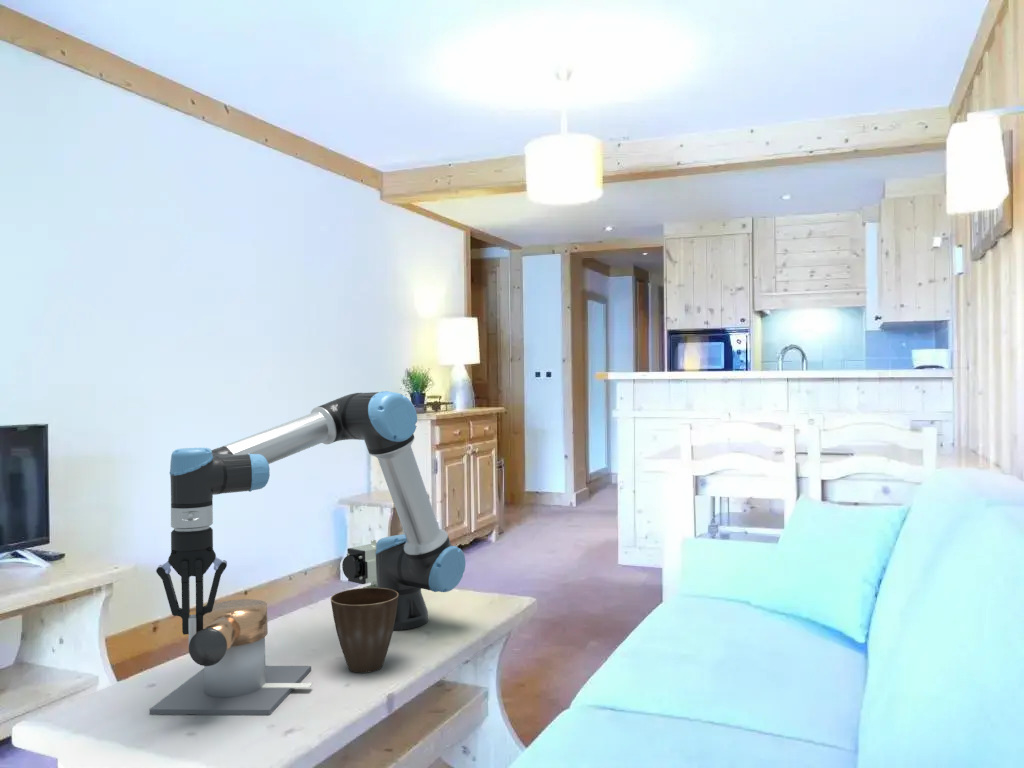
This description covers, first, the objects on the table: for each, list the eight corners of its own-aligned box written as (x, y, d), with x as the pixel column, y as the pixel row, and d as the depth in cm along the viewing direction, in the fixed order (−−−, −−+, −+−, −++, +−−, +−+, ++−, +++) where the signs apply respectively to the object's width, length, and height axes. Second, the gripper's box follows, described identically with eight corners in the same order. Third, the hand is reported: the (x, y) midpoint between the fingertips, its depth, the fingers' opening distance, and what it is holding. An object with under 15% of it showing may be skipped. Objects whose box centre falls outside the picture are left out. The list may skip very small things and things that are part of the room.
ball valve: (360, 609, 222) (358, 547, 222) (342, 604, 228) (341, 543, 228) (408, 596, 236) (407, 537, 236) (390, 592, 241) (389, 534, 242)
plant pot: (397, 653, 184) (396, 585, 184) (402, 675, 169) (400, 601, 170) (332, 659, 181) (331, 590, 181) (332, 682, 166) (330, 607, 166)
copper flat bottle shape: (213, 630, 169) (212, 598, 169) (274, 627, 170) (274, 596, 170) (171, 667, 146) (170, 631, 146) (243, 664, 147) (242, 628, 147)
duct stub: (328, 670, 174) (327, 620, 174) (290, 715, 150) (288, 657, 150) (206, 670, 176) (205, 621, 176) (149, 714, 152) (148, 657, 152)
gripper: (153, 533, 146) (154, 660, 146) (226, 528, 150) (227, 652, 150) (158, 527, 153) (159, 648, 153) (228, 522, 157) (229, 640, 157)
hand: (193, 650), depth 151 cm, fingers closed
